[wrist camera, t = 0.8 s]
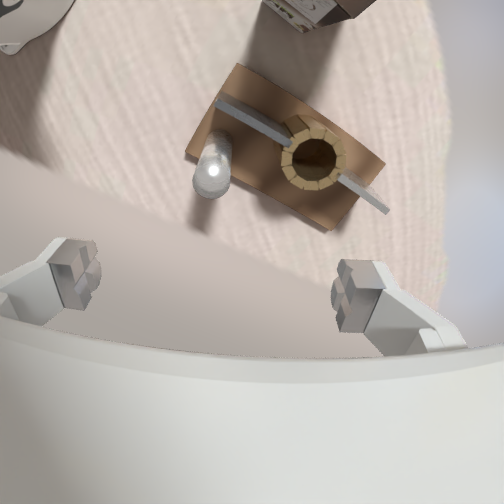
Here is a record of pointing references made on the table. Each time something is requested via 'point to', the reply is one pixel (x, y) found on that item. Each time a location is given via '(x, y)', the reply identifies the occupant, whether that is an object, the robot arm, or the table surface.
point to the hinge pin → (214, 166)
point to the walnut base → (265, 158)
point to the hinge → (287, 140)
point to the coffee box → (317, 11)
